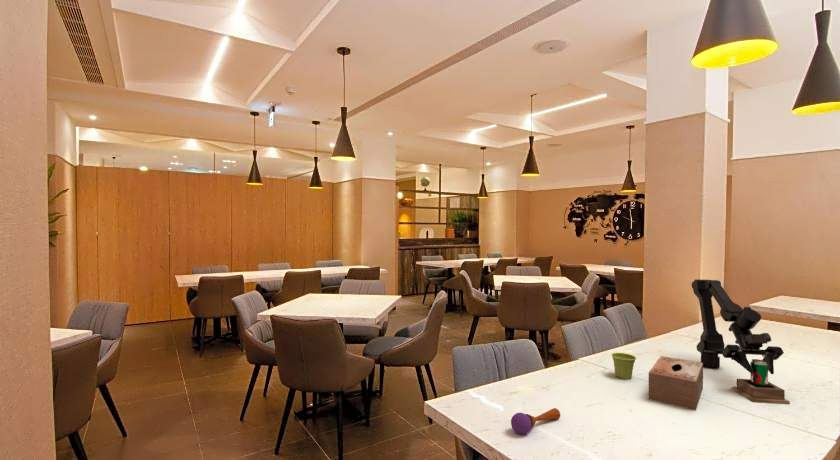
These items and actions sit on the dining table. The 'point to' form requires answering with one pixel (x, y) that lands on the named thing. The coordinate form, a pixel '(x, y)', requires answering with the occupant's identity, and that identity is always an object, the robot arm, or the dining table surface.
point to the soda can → (759, 373)
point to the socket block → (760, 392)
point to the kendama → (531, 420)
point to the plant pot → (623, 364)
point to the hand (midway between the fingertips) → (762, 373)
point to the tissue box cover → (676, 382)
